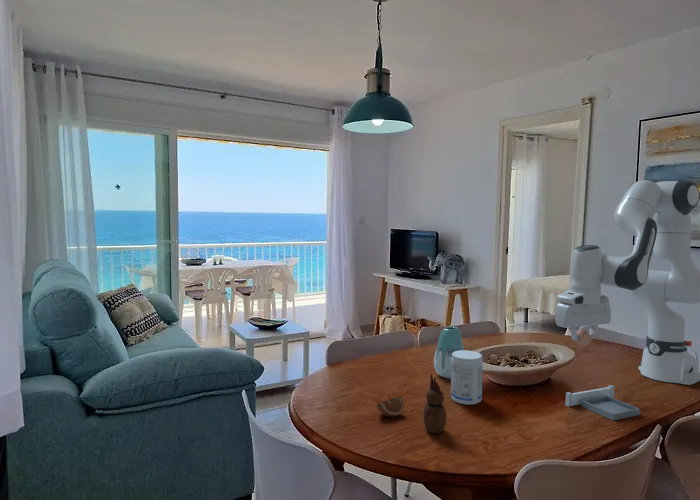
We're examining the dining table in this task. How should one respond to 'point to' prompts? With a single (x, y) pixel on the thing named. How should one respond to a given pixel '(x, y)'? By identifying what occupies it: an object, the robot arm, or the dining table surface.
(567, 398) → the wall
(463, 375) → the supplement tub
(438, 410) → the wooden figurine
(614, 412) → the dish
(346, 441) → the dining table surface
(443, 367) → the vase
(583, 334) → the ball
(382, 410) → the fruit slice
